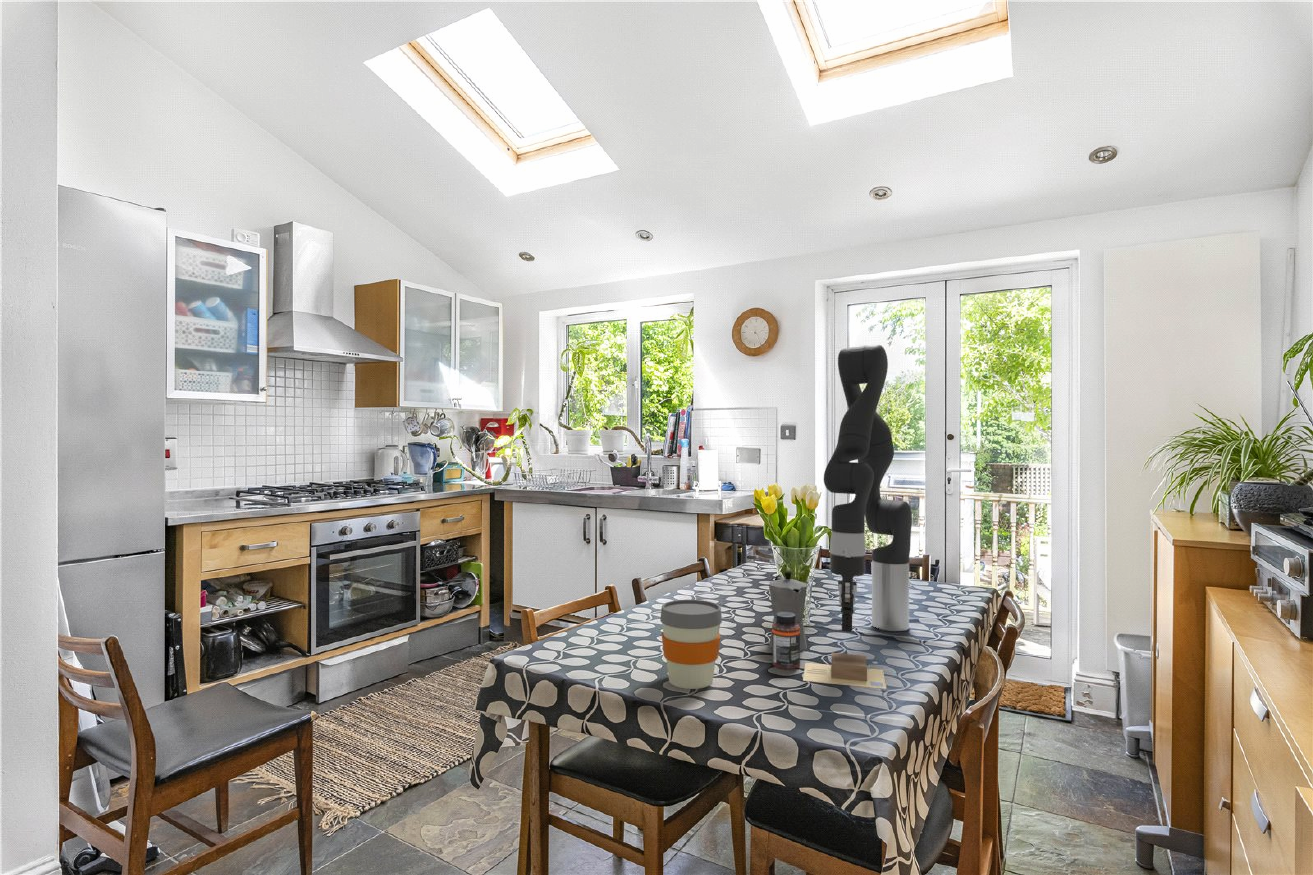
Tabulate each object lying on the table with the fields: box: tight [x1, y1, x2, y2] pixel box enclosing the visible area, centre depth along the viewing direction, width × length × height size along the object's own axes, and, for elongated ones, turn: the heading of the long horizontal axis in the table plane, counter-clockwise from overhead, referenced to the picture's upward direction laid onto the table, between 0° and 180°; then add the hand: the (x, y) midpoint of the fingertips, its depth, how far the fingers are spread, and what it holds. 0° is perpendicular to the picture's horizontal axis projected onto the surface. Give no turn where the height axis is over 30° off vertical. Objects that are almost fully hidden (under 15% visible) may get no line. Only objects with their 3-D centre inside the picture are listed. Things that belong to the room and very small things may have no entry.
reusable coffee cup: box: [660, 599, 723, 690], centre depth 134 cm, size 13×13×15 cm
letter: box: [802, 662, 887, 690], centre depth 136 cm, size 11×16×1 cm
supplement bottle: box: [771, 612, 801, 670], centre depth 142 cm, size 6×6×11 cm
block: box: [830, 652, 868, 681], centre depth 137 cm, size 7×7×3 cm
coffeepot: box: [768, 570, 808, 653], centre depth 156 cm, size 15×9×18 cm, turn 8°
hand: (846, 630), depth 145 cm, fingers closed
